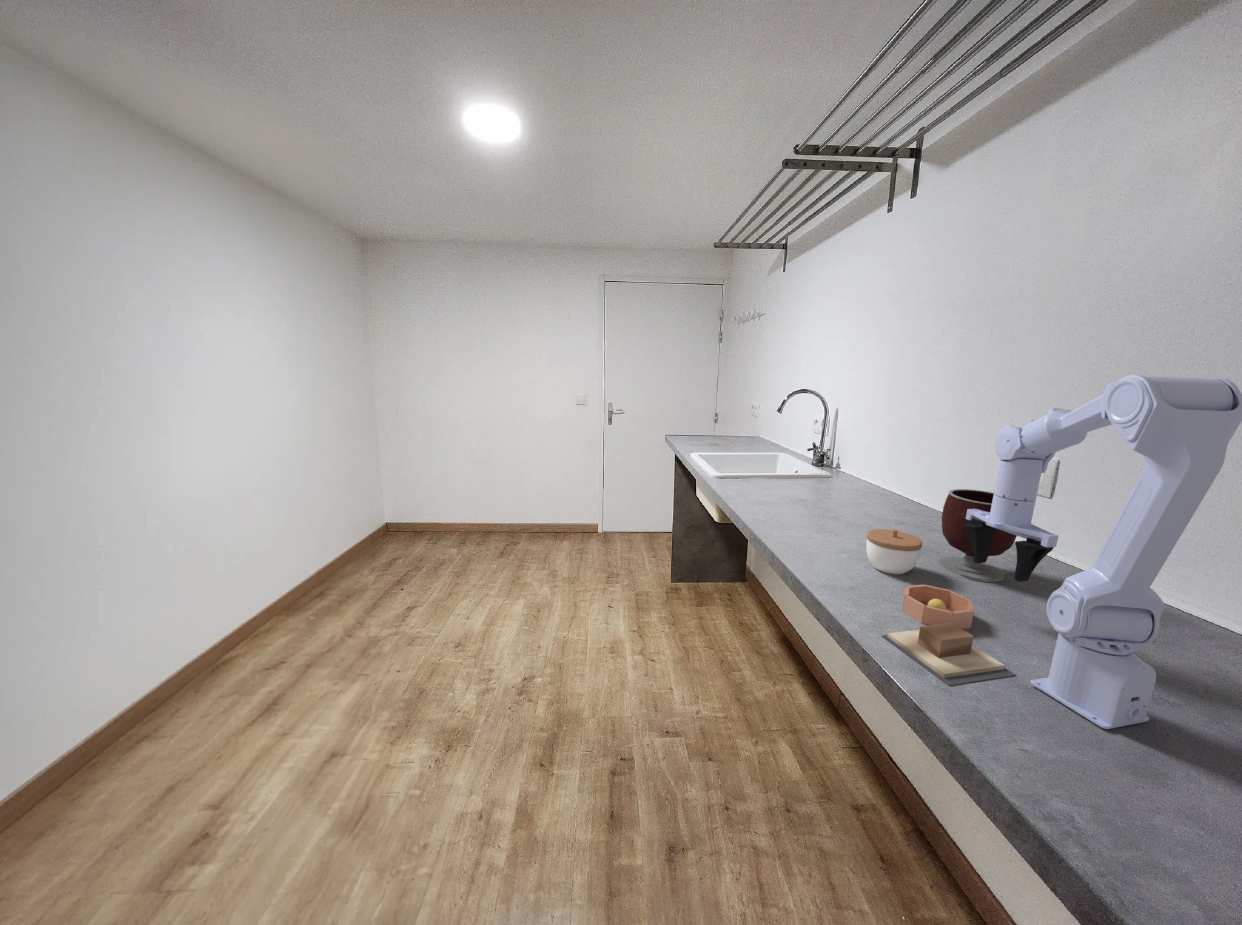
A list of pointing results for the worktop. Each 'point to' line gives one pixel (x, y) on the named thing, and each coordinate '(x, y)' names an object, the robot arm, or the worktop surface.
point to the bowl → (956, 612)
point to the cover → (946, 650)
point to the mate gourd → (960, 539)
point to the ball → (937, 604)
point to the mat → (962, 678)
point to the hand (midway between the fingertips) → (999, 570)
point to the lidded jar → (892, 550)
